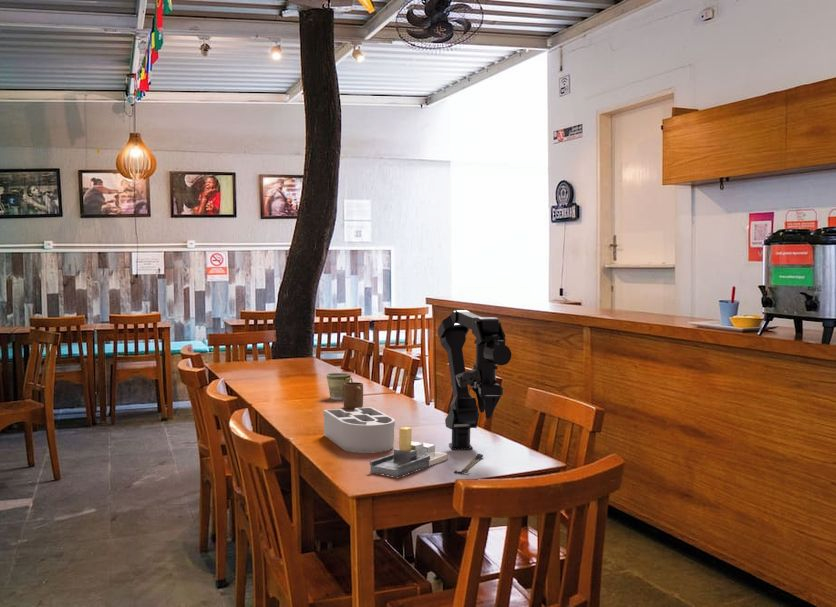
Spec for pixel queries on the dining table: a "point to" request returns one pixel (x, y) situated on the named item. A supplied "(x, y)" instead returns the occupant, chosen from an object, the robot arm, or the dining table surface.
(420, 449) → the pale grey cube
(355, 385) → the mug
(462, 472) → the tactical tomahawk
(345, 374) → the ceramic cup
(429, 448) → the speckled white cube
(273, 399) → the dining table surface
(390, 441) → the grey compartment organizer
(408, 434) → the yellow peg on base
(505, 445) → the dining table surface
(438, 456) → the tray
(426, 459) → the slot deck
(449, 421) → the robot arm
